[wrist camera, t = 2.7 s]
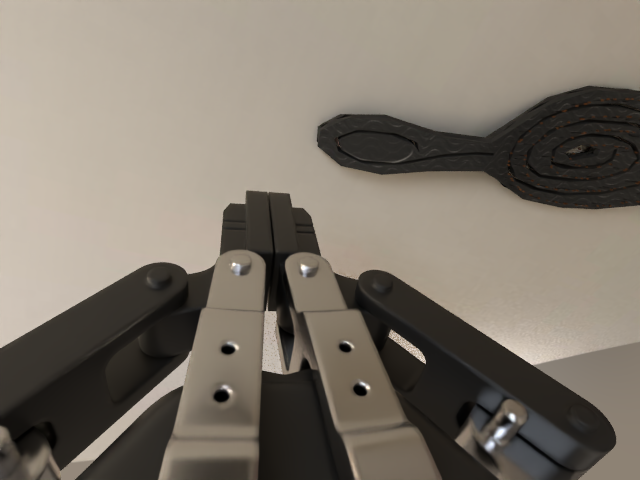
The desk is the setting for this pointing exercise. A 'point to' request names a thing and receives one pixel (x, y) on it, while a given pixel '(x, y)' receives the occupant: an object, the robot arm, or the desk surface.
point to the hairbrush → (514, 149)
